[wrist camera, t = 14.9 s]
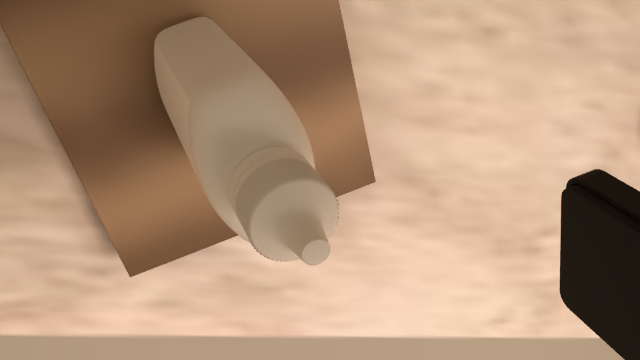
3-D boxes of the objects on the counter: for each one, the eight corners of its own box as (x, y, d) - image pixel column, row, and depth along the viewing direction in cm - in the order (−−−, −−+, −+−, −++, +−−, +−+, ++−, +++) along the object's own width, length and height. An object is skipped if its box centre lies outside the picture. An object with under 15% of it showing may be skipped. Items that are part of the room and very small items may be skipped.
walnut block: (-23, -59, 21) (-38, -50, 19) (285, -143, 24) (308, -145, 21) (126, 241, 29) (130, 277, 26) (352, 156, 31) (375, 181, 28)
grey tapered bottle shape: (139, 148, 23) (203, 356, 14) (156, 5, 21) (247, 130, 11) (244, 155, 25) (366, 342, 16) (270, 25, 23) (431, 146, 13)
